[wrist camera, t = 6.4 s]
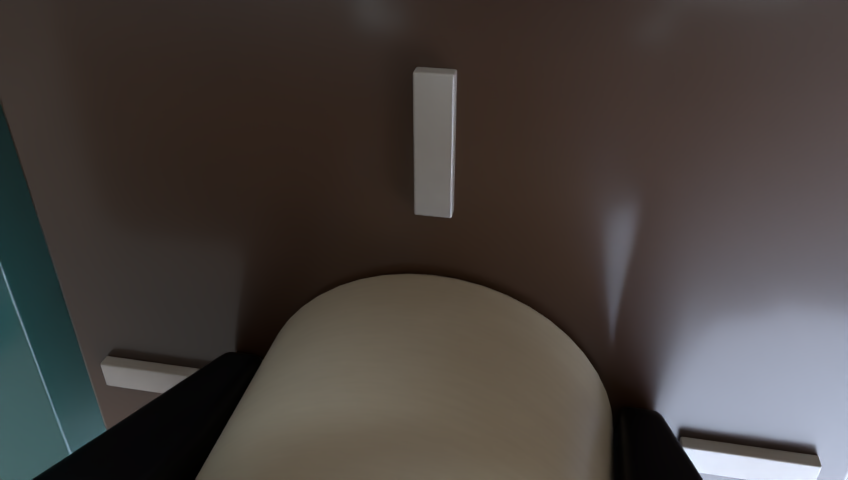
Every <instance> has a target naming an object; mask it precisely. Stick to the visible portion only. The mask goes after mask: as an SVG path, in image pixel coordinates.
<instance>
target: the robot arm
mask: <svg viewBox="0 0 848 480" xmlns="http://www.w3.org/2000/svg"><path fill="white" fill-rule="evenodd" d="M262 361H263V360H262V359H261V358H260V357H259V356H257V355H253V354H246V353H239V352H227V353H224V354H222V355H221V356H219V357H218V358H216V359H215V360H213V361H211V362H210V363H208V364H207V365H205V366H204V367H202V368H201V369H199V370H198V371H196V372H195V373H193V374H192V375H190V376H189V377H187V378H186V379H184V380H183V381H181V382H180V383H178V384H176V385H175V386H173V387H172V388H170V389H169V390H167V391H166V392H164V393H163V394H161V395H160V396H158V397H157V398H155V399H154V400H152V401H151V402H149V403H148V404H146V405H144V406H143V407H141V408H140V409H138V410H137V411H135V412H134V413H132V414H131V415H129V416H128V417H126V418H125V419H123V420H122V421H120V422H119V423H117V424H116V425H114V426H113V427H111V428H109V429H108V430H106V431H105V432H103V433H102V434H100V435H99V436H97V437H96V438H94V439H93V440H91V441H90V442H88V443H87V444H85V445H84V446H82V447H81V448H79V449H78V450H76V451H74V452H73V453H71V454H70V455H68V456H67V457H65V458H64V459H62V460H61V461H59V462H58V463H56V464H55V465H53V466H52V467H50V468H49V469H47V470H46V471H44V472H42V473H41V474H39V475H38V476H36V477H35V478H33V479H32V480H195V479H196V477H197V475H198V474H199V472H200V470H201V468H202V467H203V465H204V463H205V461H206V460H207V458H208V456H209V454H210V452H211V451H212V449H213V447H214V445H215V444H216V442H217V440H218V438H219V437H220V435H221V433H222V431H223V430H224V428H225V426H226V424H227V423H228V421H229V419H230V417H231V416H232V414H233V412H234V410H235V409H236V407H237V405H238V403H239V402H240V400H241V398H242V396H243V395H244V393H245V391H246V389H247V388H248V386H249V384H250V382H251V381H252V379H253V377H254V375H255V373H256V372H257V370H258V368H259V366H260V365H261V363H262ZM614 472H615V480H703V478H702V477H701V475H700V474H699V472H698V471H697V469H696V468H695V466H694V464H693V463H692V461H691V460H690V458H689V457H688V455H687V454H686V452H685V450H684V449H683V447H682V446H681V444H680V443H679V441H678V440H677V438H676V436H675V435H674V433H673V432H672V430H671V429H670V427H669V426H668V424H667V422H666V421H665V419H664V418H663V416H662V415H661V414H660V413H659V412H657V411H654V410H648V409H641V408H633V407H623V408H622V409H621V410H620V411H619V413H618V418H617V422H616V427H615V432H614Z"/></svg>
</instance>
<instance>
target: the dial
mask: <svg viewBox="0 0 848 480" xmlns="http://www.w3.org/2000/svg"><path fill="white" fill-rule="evenodd" d="M195 480H615V472H614V430H613V419H612V410H611V406H610V403H609V399H608V396H607V392H606V390H605V388H604V386H603V384H602V382H601V380H600V377H599V375H598V373H597V372H596V370H595V369H594V367H593V366H592V364H591V363H590V361H589V360H588V359H587V357H586V356H585V354H584V353H583V352H582V351H581V349H580V348H579V347H578V346H577V345H576V344H575V343H574V342H573V341H572V339H571V338H570V337H569V336H568V335H567V334H565V333H564V332H563V331H562V330H561V329H560V328H558V327H557V326H556V325H555V324H554V323H553V322H551V321H550V320H549V319H547V318H546V317H544V316H543V315H541V314H540V313H538V312H537V311H535V310H534V309H532V308H531V307H529V306H527V305H525V304H523V303H522V302H520V301H518V300H516V299H514V298H512V297H510V296H508V295H506V294H503V293H501V292H498V291H496V290H493V289H490V288H488V287H485V286H482V285H479V284H475V283H471V282H468V281H464V280H460V279H456V278H450V277H443V276H437V275H427V274H408V273H407V274H391V275H380V276H375V277H369V278H364V279H359V280H356V281H353V282H350V283H347V284H344V285H340V286H338V287H336V288H334V289H332V290H330V291H328V292H325V293H323V294H321V295H319V296H317V297H316V298H315V299H313V300H312V301H310V302H309V303H307V304H306V305H304V306H303V307H301V308H300V309H299V310H298V311H297V312H296V313H295V314H294V315H293V316H292V317H291V318H290V319H289V320H288V321H287V322H286V324H285V325H284V327H283V328H282V329H281V331H280V332H279V333H278V335H277V337H276V338H275V340H274V342H273V344H272V345H271V347H270V349H269V351H268V352H267V354H266V356H265V358H264V359H263V361H262V363H261V365H260V366H259V368H258V370H257V372H256V373H255V375H254V377H253V379H252V381H251V382H250V384H249V386H248V388H247V389H246V391H245V393H244V395H243V396H242V398H241V400H240V402H239V403H238V405H237V407H236V409H235V410H234V412H233V414H232V416H231V417H230V419H229V421H228V423H227V424H226V426H225V428H224V430H223V431H222V433H221V435H220V437H219V438H218V440H217V442H216V444H215V445H214V447H213V449H212V451H211V452H210V454H209V456H208V458H207V460H206V461H205V463H204V465H203V467H202V468H201V470H200V472H199V474H198V475H197V477H196V479H195Z"/></svg>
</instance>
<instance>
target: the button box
mask: <svg viewBox="0 0 848 480" xmlns="http://www.w3.org/2000/svg"><path fill="white" fill-rule="evenodd" d="M105 431H106V428H105V425H104V422H103V419H102V416H101V413H100V410H99V406H98V403H97V400H96V397H95V394H94V391H93V388H92V385H91V382H90V379H89V376H88V372H87V369H86V366H85V363H84V360H83V357H82V354H81V351H80V348H79V345H78V342H77V339H76V335H75V332H74V329H73V326H72V323H71V320H70V317H69V314H68V311H67V308H66V305H65V301H64V298H63V295H62V292H61V289H60V286H59V283H58V280H57V277H56V274H55V271H54V267H53V264H52V261H51V258H50V255H49V252H48V249H47V246H46V243H45V240H44V237H43V234H42V230H41V227H40V224H39V221H38V218H37V215H36V212H35V209H34V206H33V203H32V200H31V196H30V193H29V190H28V187H27V184H26V181H25V178H24V175H23V172H22V169H21V166H20V162H19V159H18V156H17V153H16V150H15V147H14V144H13V141H12V138H11V135H10V132H9V129H8V125H7V122H6V119H5V116H4V113H3V110H2V107H1V104H0V480H32V479H33V478H35V477H36V476H38V475H39V474H41V473H42V472H44V471H46V470H47V469H49V468H50V467H52V466H53V465H55V464H56V463H58V462H59V461H61V460H62V459H64V458H65V457H67V456H68V455H70V454H71V453H73V452H74V451H76V450H78V449H79V448H81V447H82V446H84V445H85V444H87V443H88V442H90V441H91V440H93V439H94V438H96V437H97V436H99V435H100V434H102V433H103V432H105Z"/></svg>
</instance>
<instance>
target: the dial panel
mask: <svg viewBox="0 0 848 480" xmlns="http://www.w3.org/2000/svg"><path fill="white" fill-rule="evenodd" d="M0 104H1V107H2V110H3V113H4V116H5V119H6V122H7V125H8V129H9V132H10V135H11V138H12V141H13V144H14V147H15V150H16V153H17V156H18V159H19V162H20V166H21V169H22V172H23V175H24V178H25V181H26V184H27V187H28V190H29V193H30V196H31V200H32V203H33V206H34V209H35V212H36V215H37V218H38V221H39V224H40V227H41V230H42V234H43V237H44V240H45V243H46V246H47V249H48V252H49V255H50V258H51V261H52V264H53V267H54V271H55V274H56V277H57V280H58V283H59V286H60V289H61V292H62V295H63V298H64V301H65V305H66V308H67V311H68V314H69V317H70V320H71V323H72V326H73V329H74V332H75V335H76V339H77V342H78V345H79V348H80V351H81V354H82V357H83V360H84V363H85V366H86V369H87V372H88V376H89V379H90V382H91V385H92V388H93V391H94V394H95V397H96V400H97V403H98V406H99V410H100V413H101V416H102V419H103V422H104V425H105V428H106V430H108V429H109V428H111V427H113V426H114V425H116V424H117V423H119V422H120V421H122V420H123V419H125V418H126V417H128V416H129V415H131V414H132V413H134V412H135V411H137V410H138V409H140V408H141V407H143V406H144V405H146V404H148V403H149V402H151V401H152V400H154V399H155V398H157V397H158V396H160V395H161V394H163V393H164V392H166V391H167V390H169V389H170V388H172V387H173V386H175V385H176V384H178V383H180V382H181V381H183V380H184V379H186V378H187V377H189V376H190V375H192V374H193V373H195V372H196V371H198V370H199V369H201V368H202V367H204V366H205V365H207V364H208V363H210V362H211V361H213V360H215V359H216V358H218V357H219V356H221V355H222V354H224V353H227V352H239V353H246V354H253V355H257V356H259V357H260V358H261V359H262V360H263V359H264V358H265V356H266V354H267V352H268V351H269V349H270V347H271V345H272V344H273V342H274V340H275V338H276V337H277V335H278V333H279V332H280V331H281V329H282V328H283V327H284V325H285V324H286V322H287V321H288V320H289V319H290V318H291V317H292V316H293V315H294V314H295V313H296V312H297V311H298V310H299V309H300V308H301V307H303V306H304V305H306V304H307V303H309V302H310V301H312V300H313V299H315V298H316V297H317V296H319V295H321V294H323V293H325V292H328V291H330V290H332V289H334V288H336V287H338V286H340V285H344V284H347V283H350V282H353V281H356V280H359V279H364V278H369V277H375V276H380V275H391V274H407V273H408V274H427V275H437V276H443V277H450V278H456V279H460V280H464V281H468V282H471V283H475V284H479V285H482V286H485V287H488V288H490V289H493V290H496V291H498V292H501V293H503V294H506V295H508V296H510V297H512V298H514V299H516V300H518V301H520V302H522V303H523V304H525V305H527V306H529V307H531V308H532V309H534V310H535V311H537V312H538V313H540V314H541V315H543V316H544V317H546V318H547V319H549V320H550V321H551V322H553V323H554V324H555V325H556V326H557V327H558V328H560V329H561V330H562V331H563V332H564V333H565V334H567V335H568V336H569V337H570V338H571V339H572V341H573V342H574V343H575V344H576V345H577V346H578V347H579V348H580V349H581V351H582V352H583V353H584V354H585V356H586V357H587V359H588V360H589V361H590V363H591V364H592V366H593V367H594V369H595V370H596V372H597V373H598V375H599V377H600V380H601V382H602V384H603V386H604V388H605V390H606V392H607V396H608V399H609V403H610V406H611V410H612V419H613V430H614V432H615V427H616V422H617V418H618V413H619V411H620V410H621V409H622V408H623V407H633V408H641V409H648V410H654V411H657V412H659V413H660V414H661V415H662V416H663V418H664V419H665V421H666V422H667V424H668V426H669V427H670V429H671V430H672V432H673V433H674V435H675V436H676V438H677V440H678V441H679V443H680V444H681V446H682V447H683V449H684V450H685V452H686V454H687V455H688V457H689V458H690V460H691V461H692V463H693V464H694V466H695V468H696V469H697V471H698V472H699V474H700V475H701V477H702V478H703V480H848V0H0Z"/></svg>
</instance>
